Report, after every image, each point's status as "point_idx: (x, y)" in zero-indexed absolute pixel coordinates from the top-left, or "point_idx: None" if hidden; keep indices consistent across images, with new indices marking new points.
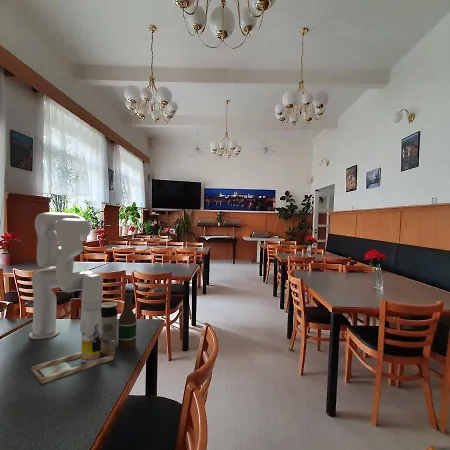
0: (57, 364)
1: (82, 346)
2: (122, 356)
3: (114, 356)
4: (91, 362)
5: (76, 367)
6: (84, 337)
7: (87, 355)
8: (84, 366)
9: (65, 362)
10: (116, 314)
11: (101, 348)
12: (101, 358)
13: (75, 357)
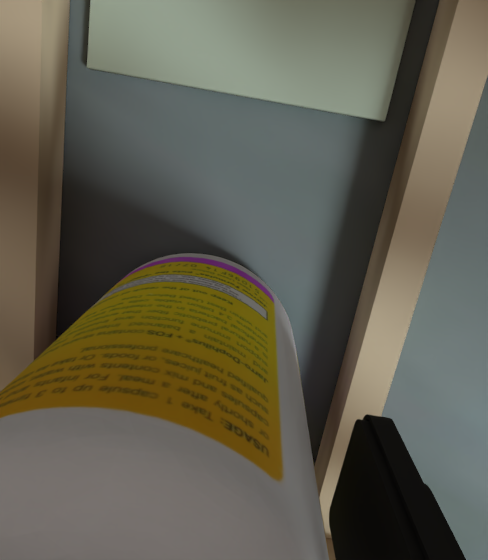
0: (402, 5)
1: (167, 328)
2: None
3: None
4: (6, 264)
5: (7, 61)
6: (18, 496)
7: (100, 300)
8: (3, 166)
9: (359, 110)
10: None
11: None
12: None
13: (373, 265)
